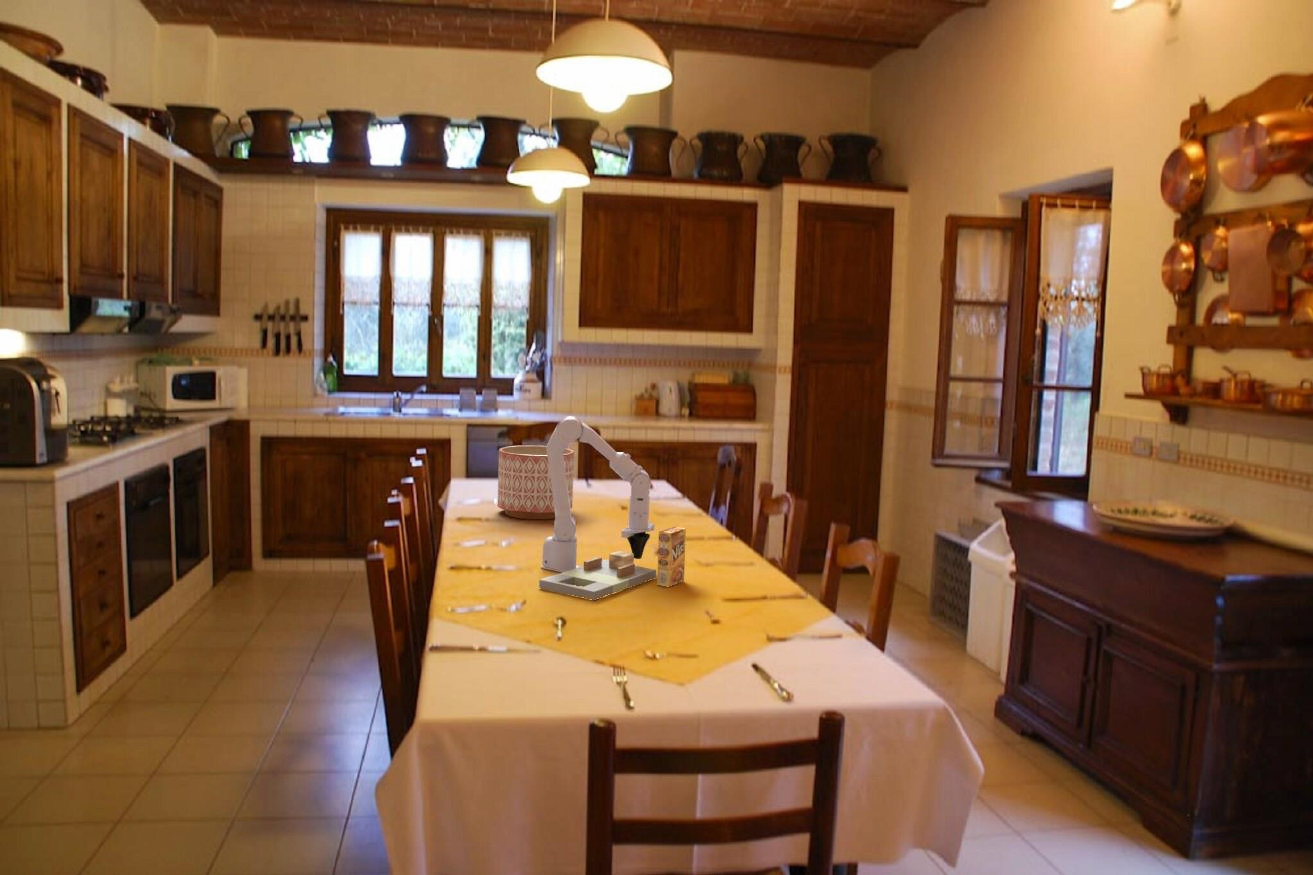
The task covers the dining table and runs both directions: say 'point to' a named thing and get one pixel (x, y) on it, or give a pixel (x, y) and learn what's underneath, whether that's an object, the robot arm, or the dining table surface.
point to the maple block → (620, 559)
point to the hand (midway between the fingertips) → (637, 558)
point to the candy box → (671, 556)
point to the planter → (529, 481)
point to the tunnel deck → (596, 579)
